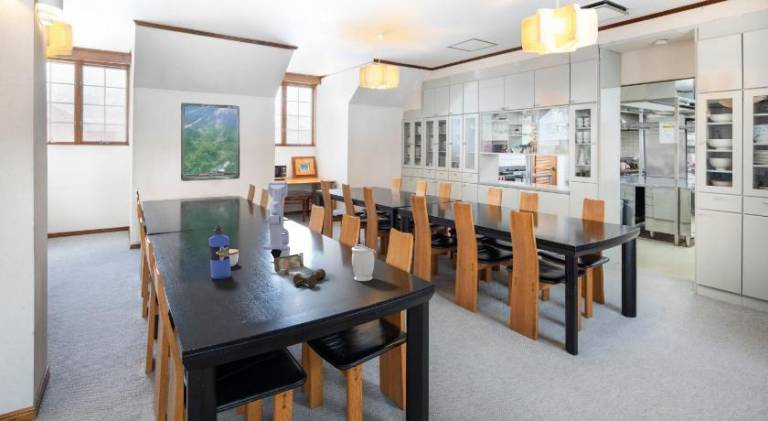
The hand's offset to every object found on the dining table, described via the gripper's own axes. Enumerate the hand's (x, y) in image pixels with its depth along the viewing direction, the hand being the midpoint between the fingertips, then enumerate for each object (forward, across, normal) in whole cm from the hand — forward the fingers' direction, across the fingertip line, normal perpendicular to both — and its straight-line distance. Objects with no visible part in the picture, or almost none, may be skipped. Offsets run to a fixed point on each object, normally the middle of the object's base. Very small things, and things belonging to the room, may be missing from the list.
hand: (276, 263), depth 231 cm
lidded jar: (+3, -30, +2) cm, 30 cm away
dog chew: (+3, +27, -19) cm, 33 cm away
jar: (+3, +48, -7) cm, 49 cm away
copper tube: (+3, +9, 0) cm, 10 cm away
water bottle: (+3, -20, -18) cm, 27 cm away
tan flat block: (+3, +5, +2) cm, 6 cm away
